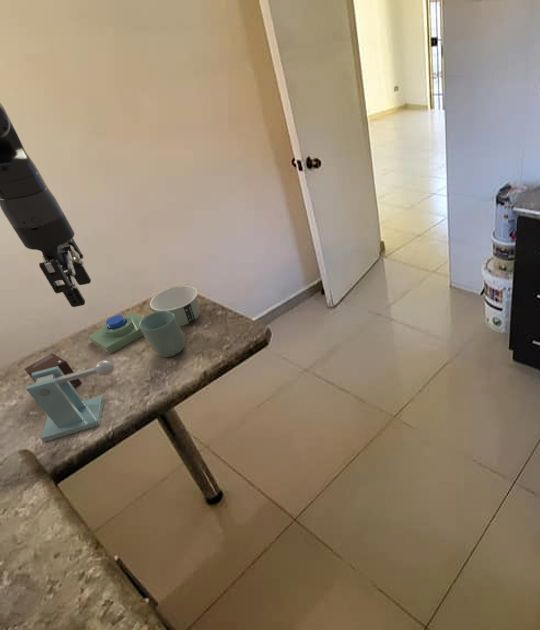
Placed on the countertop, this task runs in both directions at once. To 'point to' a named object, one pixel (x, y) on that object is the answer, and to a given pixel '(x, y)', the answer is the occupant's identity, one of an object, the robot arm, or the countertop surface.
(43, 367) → the box
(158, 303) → the food container
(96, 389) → the countertop surface
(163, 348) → the cup
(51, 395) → the lever bracket
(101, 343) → the button block
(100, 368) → the flush lever
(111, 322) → the flush button
